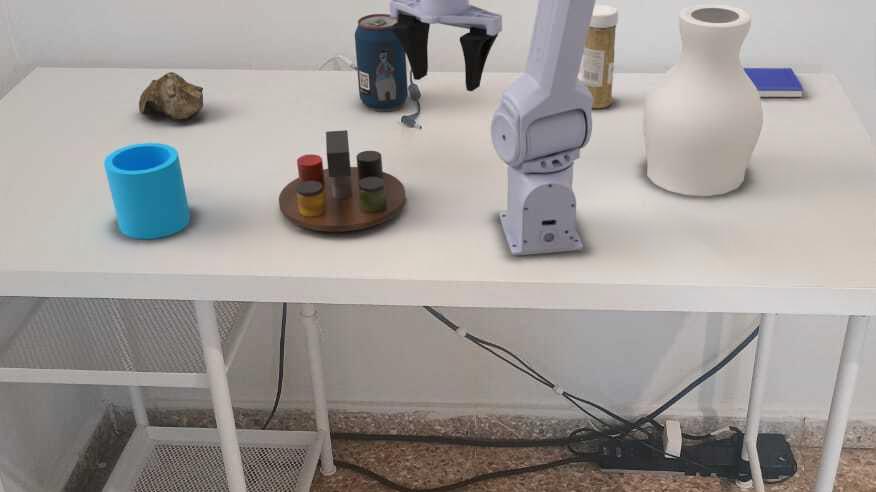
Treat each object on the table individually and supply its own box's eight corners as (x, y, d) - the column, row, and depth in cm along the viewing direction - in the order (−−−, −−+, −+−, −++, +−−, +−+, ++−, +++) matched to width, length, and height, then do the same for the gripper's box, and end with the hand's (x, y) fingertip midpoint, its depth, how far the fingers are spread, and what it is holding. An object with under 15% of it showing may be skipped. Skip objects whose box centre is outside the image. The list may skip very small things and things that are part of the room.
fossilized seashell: (220, 96, 146) (179, 91, 152) (189, 63, 141) (148, 59, 147) (190, 138, 144) (150, 131, 150) (158, 106, 139) (118, 100, 145)
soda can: (386, 90, 153) (381, 9, 146) (418, 103, 149) (414, 19, 142) (350, 103, 149) (343, 20, 142) (381, 117, 145) (376, 32, 138)
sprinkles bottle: (618, 104, 148) (625, 9, 140) (593, 112, 146) (599, 16, 138) (597, 94, 151) (603, 1, 143) (573, 101, 149) (577, 7, 141)
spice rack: (401, 168, 130) (397, 111, 125) (410, 226, 118) (407, 165, 113) (280, 176, 129) (273, 119, 124) (277, 236, 117) (269, 174, 112)
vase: (625, 190, 126) (639, 27, 114) (650, 143, 137) (665, -11, 125) (744, 208, 122) (772, 40, 110) (760, 158, 133) (786, 0, 121)
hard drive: (715, 87, 148) (803, 87, 148) (707, 66, 155) (790, 66, 154) (714, 98, 149) (801, 98, 149) (705, 76, 156) (789, 76, 155)
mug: (185, 237, 119) (172, 172, 114) (113, 241, 118) (97, 176, 113) (199, 189, 128) (187, 127, 124) (132, 192, 128) (118, 130, 123)
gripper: (372, -31, 120) (379, 82, 128) (480, -13, 114) (481, 104, 122) (405, -46, 125) (410, 64, 133) (511, -29, 119) (510, 84, 127)
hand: (446, 82), depth 128 cm, fingers open, 7 cm apart
